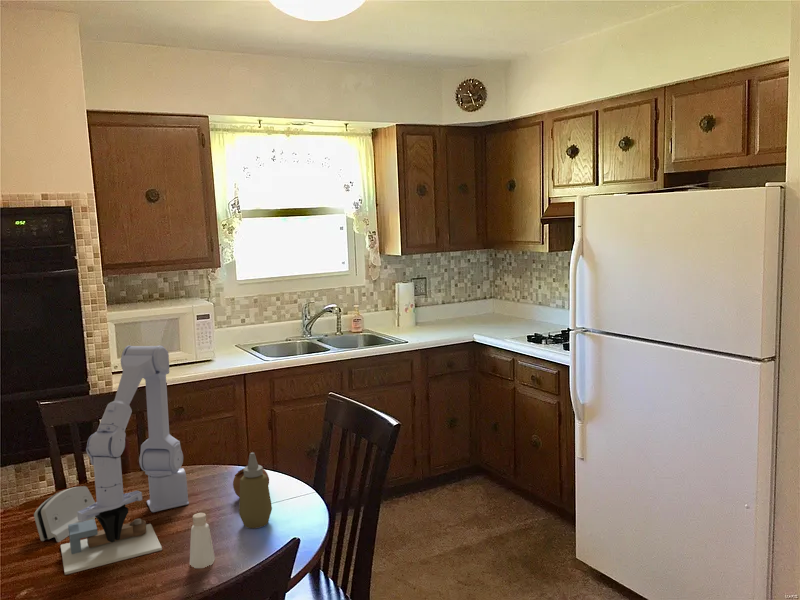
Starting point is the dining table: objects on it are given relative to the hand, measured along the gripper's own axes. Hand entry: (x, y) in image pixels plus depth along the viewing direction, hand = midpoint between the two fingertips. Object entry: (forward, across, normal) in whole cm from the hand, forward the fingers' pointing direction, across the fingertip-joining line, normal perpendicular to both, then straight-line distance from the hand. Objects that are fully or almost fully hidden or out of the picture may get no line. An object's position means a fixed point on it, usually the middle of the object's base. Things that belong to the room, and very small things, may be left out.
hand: (113, 539), depth 155 cm
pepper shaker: (+2, -8, +22) cm, 24 cm away
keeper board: (+2, 0, -1) cm, 2 cm away
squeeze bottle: (+2, -27, +17) cm, 32 cm away
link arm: (+1, -2, -2) cm, 3 cm away
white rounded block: (+2, 0, -21) cm, 21 cm away
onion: (+2, -37, +4) cm, 37 cm away
